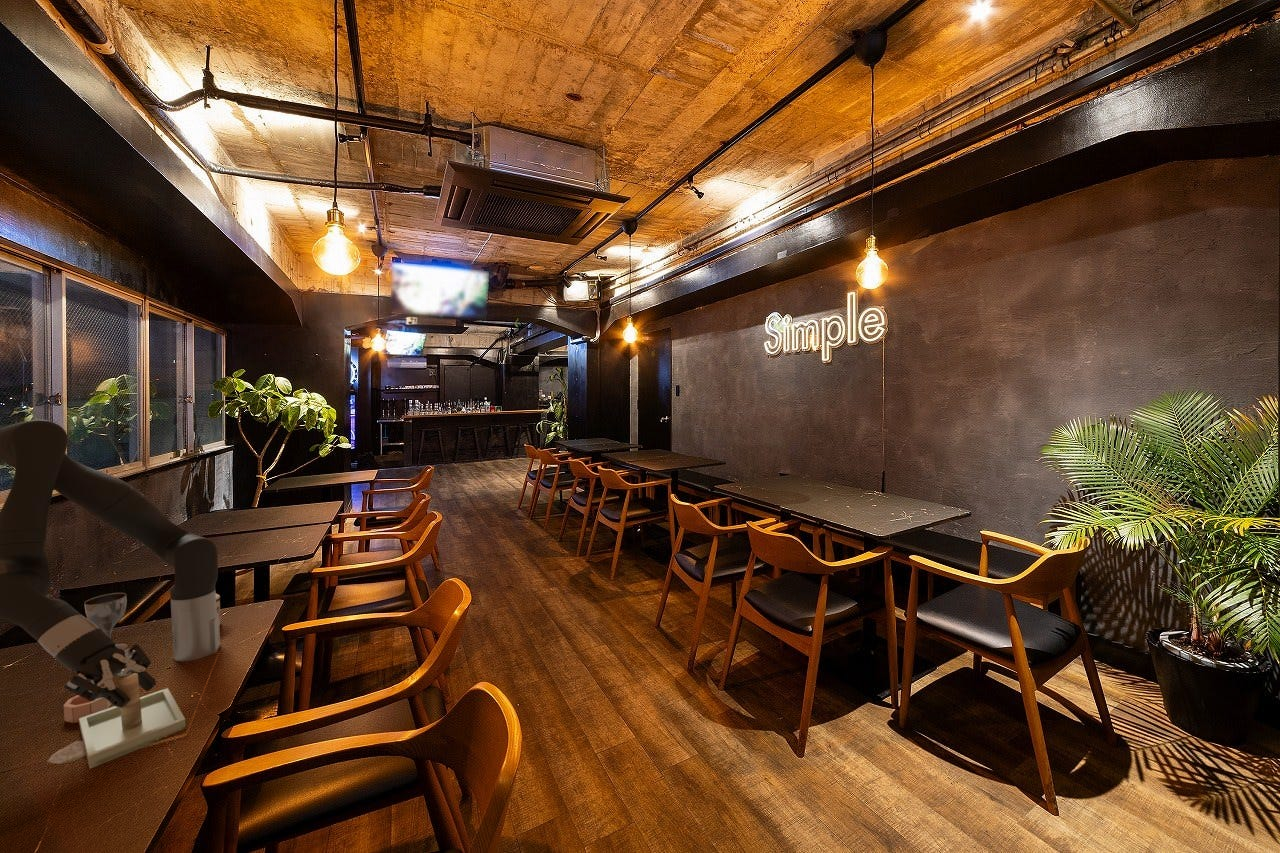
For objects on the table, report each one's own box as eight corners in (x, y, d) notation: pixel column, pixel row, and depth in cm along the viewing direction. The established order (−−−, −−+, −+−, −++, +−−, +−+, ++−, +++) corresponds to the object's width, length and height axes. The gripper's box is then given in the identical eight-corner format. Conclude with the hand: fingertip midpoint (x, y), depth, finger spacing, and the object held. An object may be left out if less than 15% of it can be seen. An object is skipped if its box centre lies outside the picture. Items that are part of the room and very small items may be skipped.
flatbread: (97, 734, 106) (97, 730, 106) (114, 745, 103) (114, 741, 103) (40, 760, 98) (40, 755, 98) (56, 773, 95) (56, 768, 95)
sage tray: (79, 729, 107) (79, 718, 107) (168, 697, 118) (167, 687, 118) (89, 768, 96) (88, 756, 96) (185, 730, 107) (185, 719, 107)
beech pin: (144, 718, 109) (139, 671, 108) (139, 726, 106) (135, 678, 105) (124, 723, 107) (120, 675, 106) (120, 732, 105) (115, 683, 104)
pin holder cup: (114, 702, 116) (113, 685, 116) (104, 717, 111) (102, 700, 110) (73, 711, 113) (72, 694, 113) (60, 728, 107) (59, 710, 107)
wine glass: (126, 640, 144) (123, 590, 143) (132, 648, 140) (129, 597, 139) (86, 652, 138) (82, 599, 137) (90, 661, 133) (86, 607, 132)
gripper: (50, 647, 98) (118, 704, 99) (123, 614, 112) (181, 664, 114) (24, 673, 98) (92, 730, 99) (100, 637, 112) (158, 687, 114)
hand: (139, 695), depth 107 cm, fingers open, 5 cm apart
